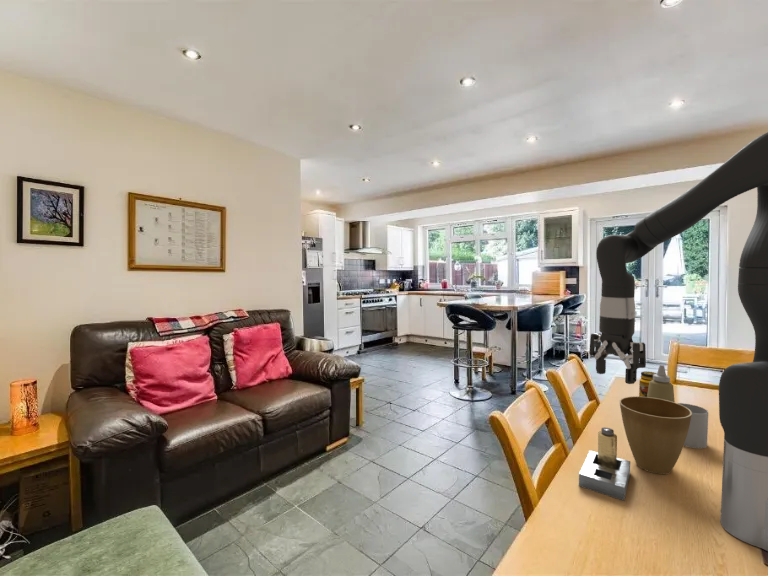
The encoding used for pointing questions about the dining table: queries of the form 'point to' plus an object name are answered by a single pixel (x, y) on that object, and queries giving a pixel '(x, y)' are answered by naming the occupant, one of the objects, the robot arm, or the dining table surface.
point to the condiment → (645, 383)
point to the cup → (697, 427)
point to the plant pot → (655, 431)
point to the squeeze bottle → (661, 386)
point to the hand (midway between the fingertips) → (615, 378)
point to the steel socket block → (605, 476)
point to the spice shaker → (607, 448)
